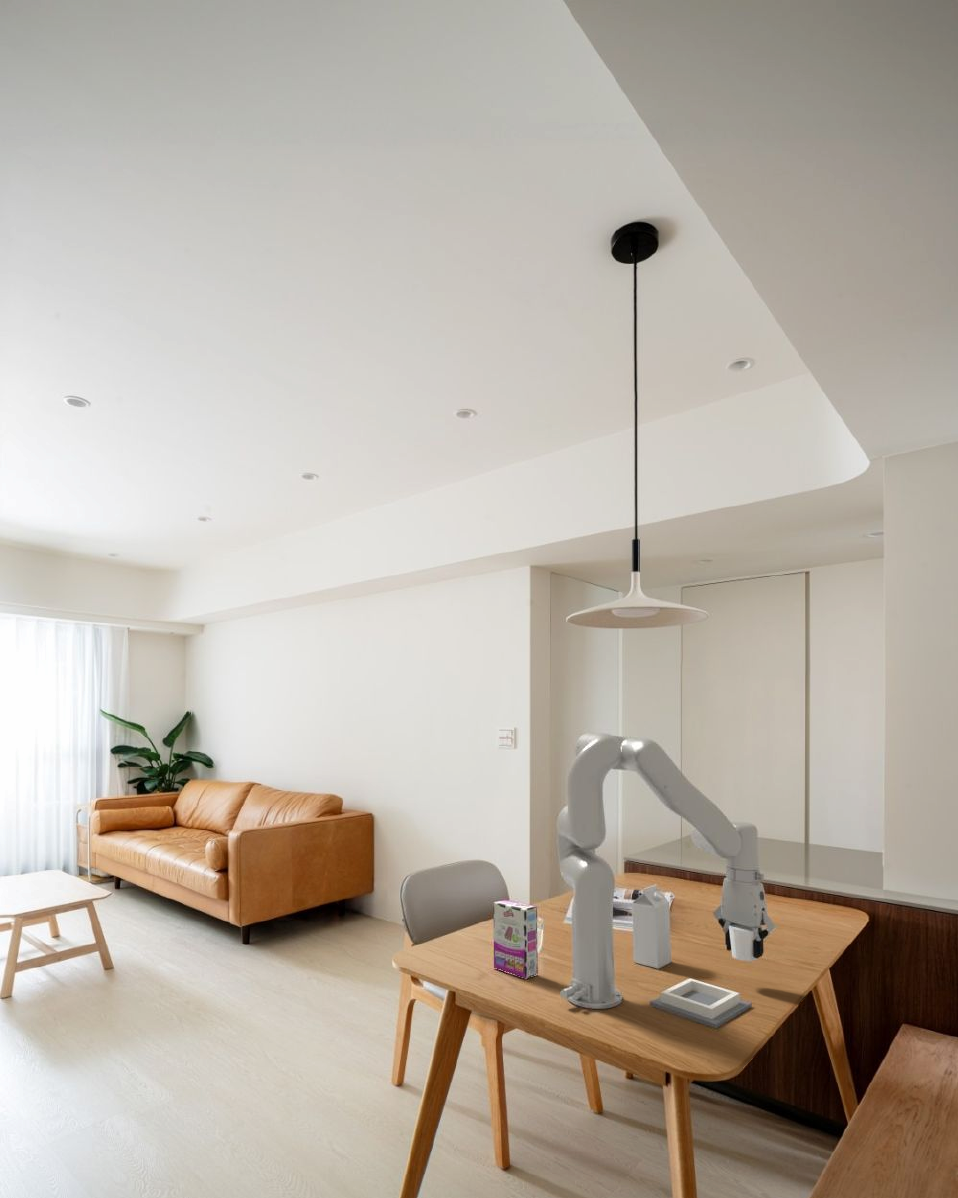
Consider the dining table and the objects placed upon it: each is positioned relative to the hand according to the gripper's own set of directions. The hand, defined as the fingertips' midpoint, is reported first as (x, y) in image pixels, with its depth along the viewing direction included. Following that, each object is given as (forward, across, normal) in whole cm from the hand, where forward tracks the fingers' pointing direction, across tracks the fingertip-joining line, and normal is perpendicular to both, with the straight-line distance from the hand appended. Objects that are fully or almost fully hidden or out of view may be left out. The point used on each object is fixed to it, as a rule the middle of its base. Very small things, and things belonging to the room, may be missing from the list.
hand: (744, 952), depth 173 cm
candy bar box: (+10, +44, +33) cm, 56 cm away
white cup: (+1, 0, 0) cm, 1 cm away
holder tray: (+8, +1, +18) cm, 20 cm away
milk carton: (+8, +24, +2) cm, 26 cm away
